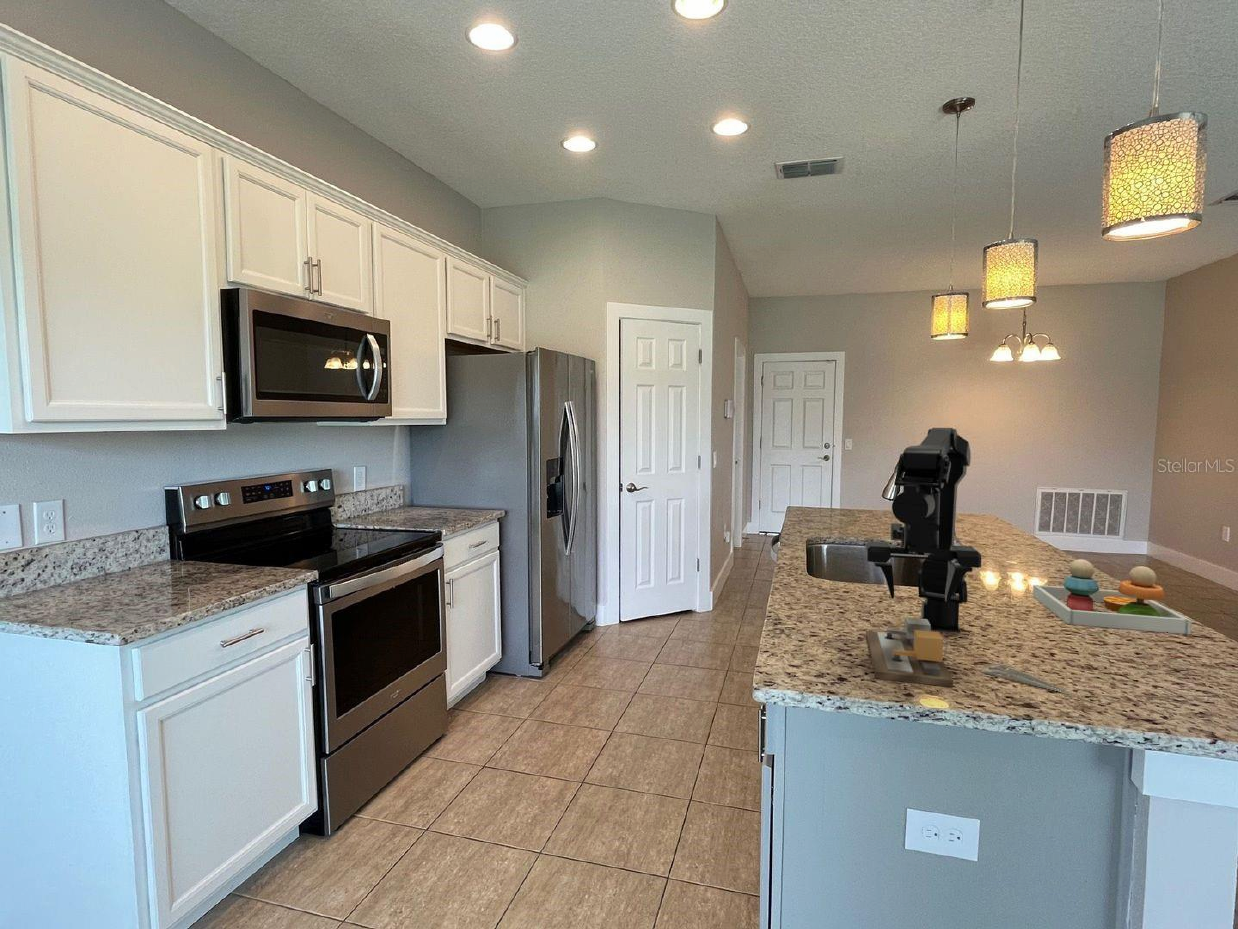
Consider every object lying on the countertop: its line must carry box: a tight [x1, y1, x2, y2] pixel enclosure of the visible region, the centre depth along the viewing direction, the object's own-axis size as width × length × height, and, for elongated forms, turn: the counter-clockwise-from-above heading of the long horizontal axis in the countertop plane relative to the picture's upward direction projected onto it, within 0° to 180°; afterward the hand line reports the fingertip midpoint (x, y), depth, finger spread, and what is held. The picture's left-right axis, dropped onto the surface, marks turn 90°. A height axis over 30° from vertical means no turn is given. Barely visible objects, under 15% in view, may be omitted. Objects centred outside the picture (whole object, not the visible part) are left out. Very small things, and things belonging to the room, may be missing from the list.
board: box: [865, 616, 954, 688], centre depth 116 cm, size 12×22×5 cm, turn 162°
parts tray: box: [1032, 584, 1192, 635], centre depth 144 cm, size 22×23×3 cm
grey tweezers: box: [980, 663, 1087, 700], centre depth 104 cm, size 18×5×2 cm, turn 37°
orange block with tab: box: [894, 630, 944, 662], centre depth 111 cm, size 8×4×5 cm, turn 72°
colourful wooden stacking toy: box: [1062, 558, 1166, 617], centre depth 145 cm, size 18×17×12 cm
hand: (919, 599), depth 115 cm, fingers open, 9 cm apart
